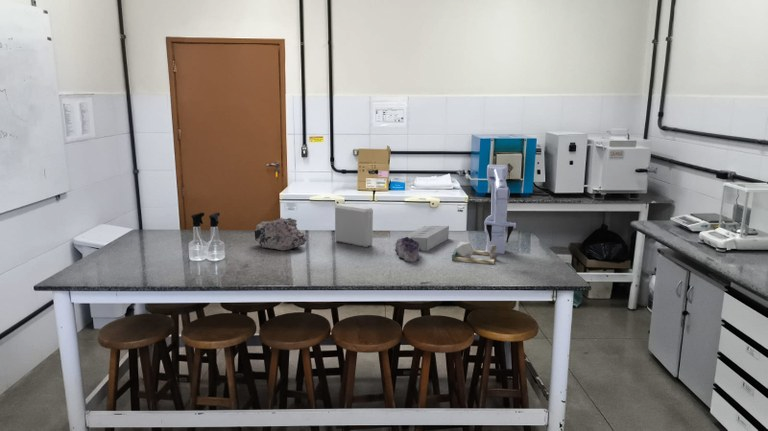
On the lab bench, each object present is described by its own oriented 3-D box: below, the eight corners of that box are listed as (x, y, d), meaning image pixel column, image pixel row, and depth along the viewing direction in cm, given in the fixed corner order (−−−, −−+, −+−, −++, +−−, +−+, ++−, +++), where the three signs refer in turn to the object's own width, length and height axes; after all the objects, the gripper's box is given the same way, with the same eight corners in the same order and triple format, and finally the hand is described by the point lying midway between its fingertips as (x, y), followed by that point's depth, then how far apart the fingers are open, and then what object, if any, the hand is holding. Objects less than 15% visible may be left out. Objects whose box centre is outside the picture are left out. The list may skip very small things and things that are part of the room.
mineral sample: (310, 217, 293) (299, 210, 279) (310, 252, 288) (300, 247, 274) (262, 223, 298) (249, 216, 284) (262, 257, 293) (249, 252, 279)
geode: (426, 262, 264) (424, 242, 262) (402, 266, 263) (400, 246, 260) (416, 249, 284) (414, 230, 281) (394, 253, 282) (392, 234, 279)
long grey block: (424, 235, 315) (424, 222, 313) (448, 239, 308) (448, 225, 307) (401, 248, 289) (401, 234, 287) (426, 252, 282) (427, 237, 281)
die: (462, 263, 266) (475, 247, 266) (449, 251, 270) (461, 236, 269) (466, 264, 274) (479, 249, 273) (453, 253, 277) (465, 238, 276)
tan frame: (496, 254, 278) (497, 241, 276) (494, 264, 262) (495, 250, 261) (456, 251, 283) (456, 238, 281) (451, 260, 267) (452, 246, 266)
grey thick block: (375, 244, 293) (375, 207, 289) (366, 248, 286) (366, 210, 282) (342, 238, 304) (342, 202, 300) (333, 241, 297) (333, 205, 293)
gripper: (484, 213, 259) (482, 242, 262) (516, 215, 256) (514, 244, 258) (485, 210, 266) (483, 238, 269) (516, 212, 262) (514, 240, 265)
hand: (498, 241), depth 264 cm, fingers open, 7 cm apart
